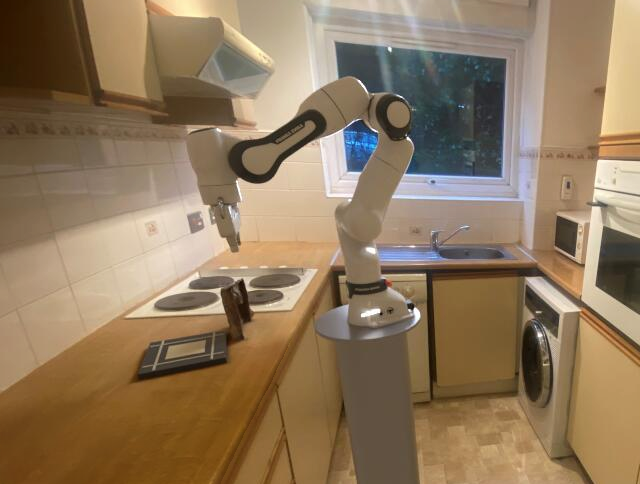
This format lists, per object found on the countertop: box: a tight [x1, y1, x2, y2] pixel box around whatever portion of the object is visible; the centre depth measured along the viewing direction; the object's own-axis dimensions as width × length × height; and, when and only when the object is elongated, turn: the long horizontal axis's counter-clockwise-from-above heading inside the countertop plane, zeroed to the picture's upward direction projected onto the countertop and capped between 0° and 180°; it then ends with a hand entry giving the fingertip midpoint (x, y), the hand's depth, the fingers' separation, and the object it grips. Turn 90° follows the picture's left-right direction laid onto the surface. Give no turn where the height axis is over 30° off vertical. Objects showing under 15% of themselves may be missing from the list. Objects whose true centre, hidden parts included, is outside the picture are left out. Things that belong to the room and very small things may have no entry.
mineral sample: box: [219, 277, 255, 341], centre depth 129 cm, size 17×4×15 cm, turn 18°
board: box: [137, 329, 229, 380], centre depth 116 cm, size 18×20×2 cm
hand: (236, 248), depth 118 cm, fingers open, 8 cm apart
